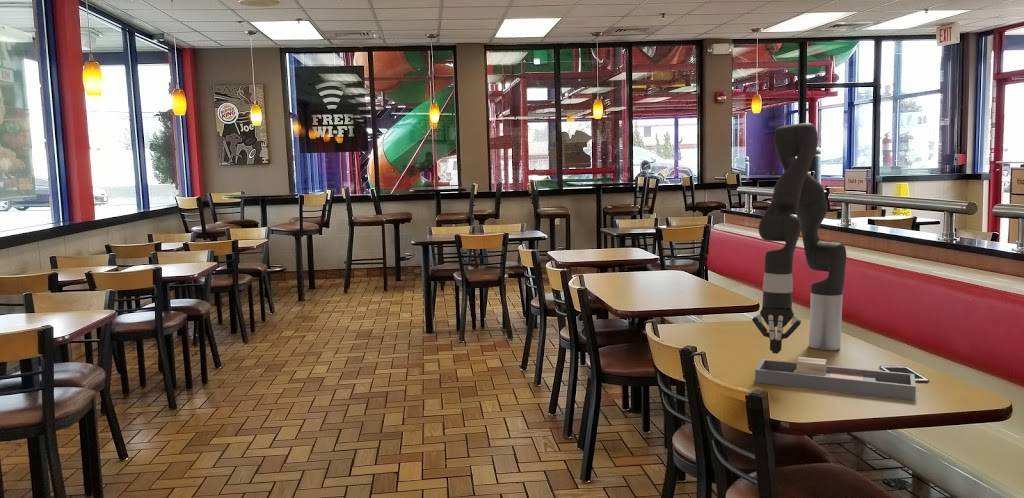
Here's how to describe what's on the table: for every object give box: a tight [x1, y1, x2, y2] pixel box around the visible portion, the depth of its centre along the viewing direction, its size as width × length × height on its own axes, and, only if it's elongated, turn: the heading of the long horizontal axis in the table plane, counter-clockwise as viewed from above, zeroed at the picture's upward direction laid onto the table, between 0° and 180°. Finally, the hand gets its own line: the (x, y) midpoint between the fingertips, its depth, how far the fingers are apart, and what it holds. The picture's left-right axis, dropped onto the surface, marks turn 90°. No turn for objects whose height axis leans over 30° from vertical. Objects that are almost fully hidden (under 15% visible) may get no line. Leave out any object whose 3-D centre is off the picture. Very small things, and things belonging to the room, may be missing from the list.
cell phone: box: [878, 365, 930, 384], centre depth 213 cm, size 8×15×1 cm, turn 176°
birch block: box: [796, 356, 828, 376], centre depth 206 cm, size 5×7×4 cm
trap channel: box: [754, 358, 917, 401], centre depth 204 cm, size 12×38×4 cm, turn 64°
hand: (775, 352), depth 210 cm, fingers closed
